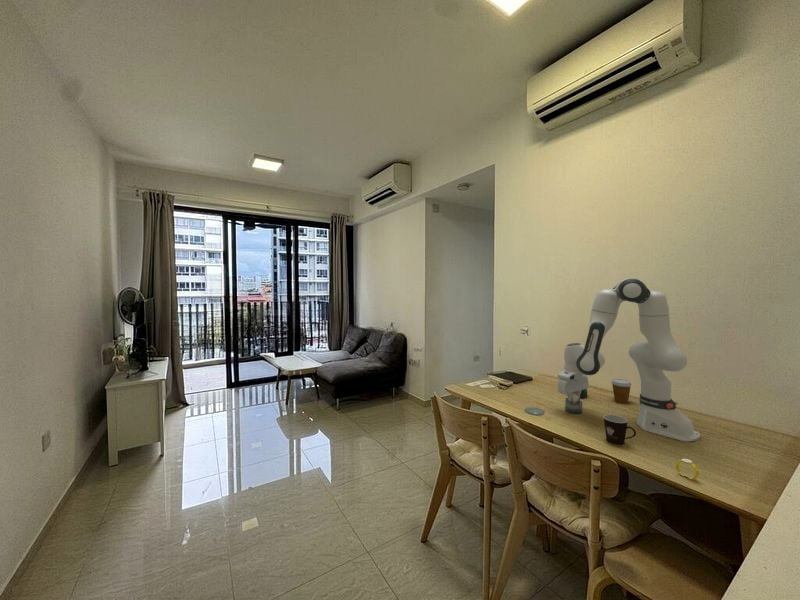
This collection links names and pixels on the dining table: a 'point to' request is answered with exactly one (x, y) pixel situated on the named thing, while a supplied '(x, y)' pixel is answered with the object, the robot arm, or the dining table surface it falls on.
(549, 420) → the dining table surface
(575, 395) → the cap
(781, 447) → the dining table surface
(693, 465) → the watch
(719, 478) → the dining table surface
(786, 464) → the dining table surface
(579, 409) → the blue-gray holder
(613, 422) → the coffee mug
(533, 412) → the coaster
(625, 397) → the disposable coffee cup
